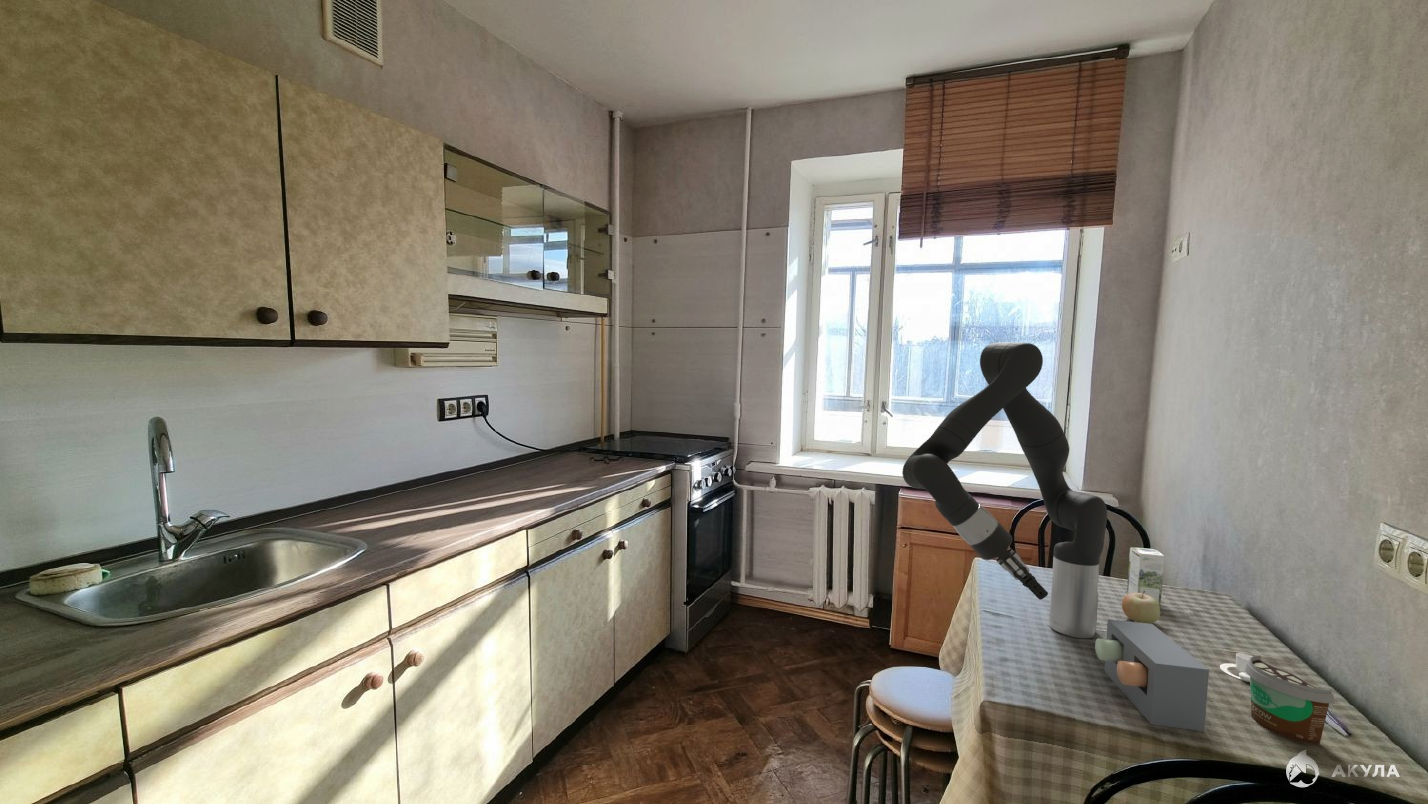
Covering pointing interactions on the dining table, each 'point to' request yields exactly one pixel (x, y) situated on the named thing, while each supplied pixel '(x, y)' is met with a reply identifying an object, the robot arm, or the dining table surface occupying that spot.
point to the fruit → (1141, 608)
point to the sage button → (1109, 650)
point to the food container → (1287, 702)
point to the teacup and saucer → (1238, 666)
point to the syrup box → (1146, 572)
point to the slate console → (1161, 676)
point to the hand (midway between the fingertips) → (1043, 595)
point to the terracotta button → (1132, 673)
